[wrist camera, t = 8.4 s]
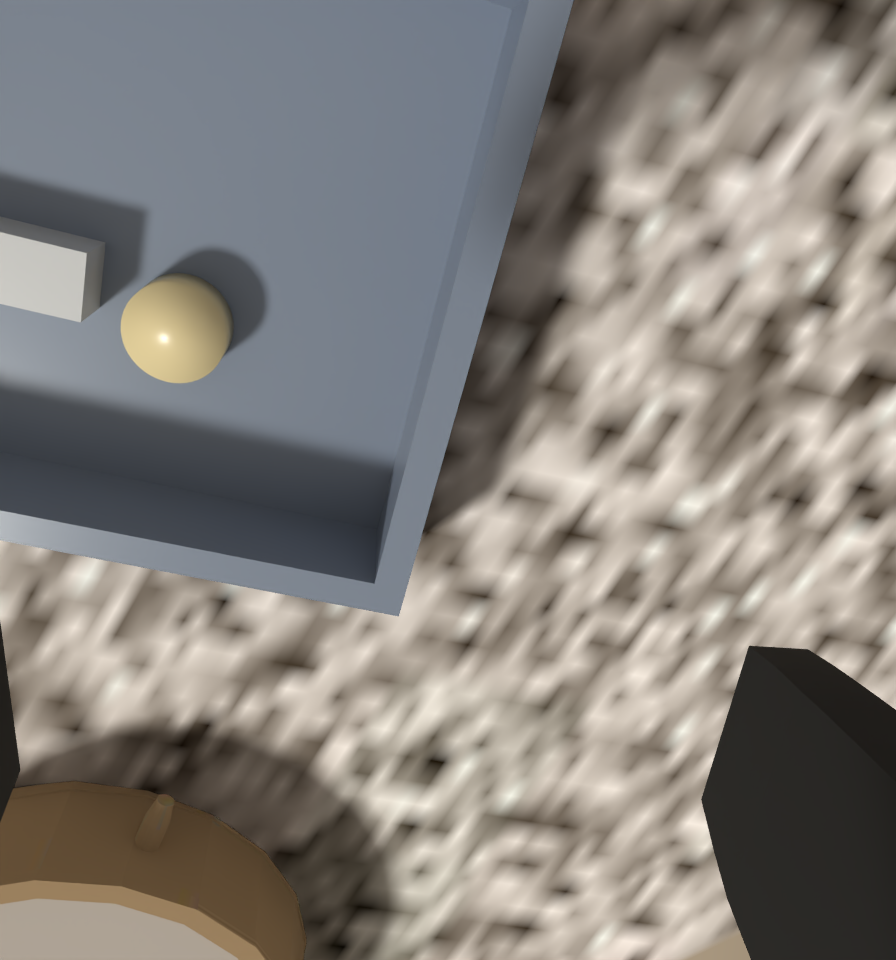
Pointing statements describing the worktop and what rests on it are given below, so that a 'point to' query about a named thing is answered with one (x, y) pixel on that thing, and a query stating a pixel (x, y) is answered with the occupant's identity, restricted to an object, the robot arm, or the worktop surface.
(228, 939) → the alarm clock
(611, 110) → the worktop surface
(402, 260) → the blue-grey tray
